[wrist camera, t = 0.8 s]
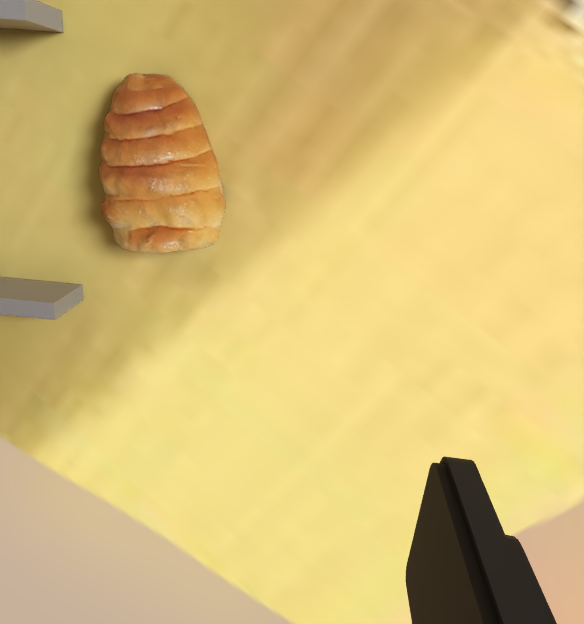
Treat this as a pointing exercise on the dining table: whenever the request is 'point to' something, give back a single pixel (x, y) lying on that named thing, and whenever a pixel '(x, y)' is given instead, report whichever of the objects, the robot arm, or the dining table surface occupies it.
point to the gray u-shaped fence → (22, 292)
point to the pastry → (159, 169)
